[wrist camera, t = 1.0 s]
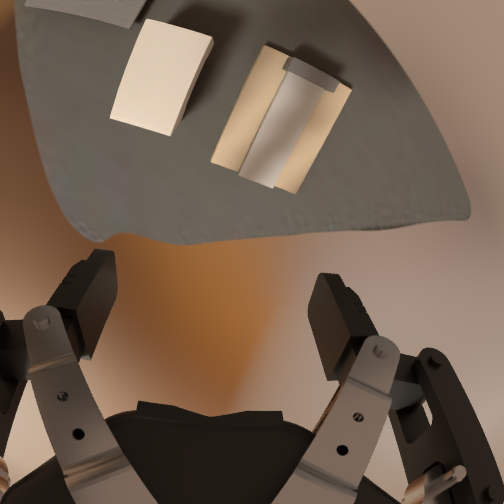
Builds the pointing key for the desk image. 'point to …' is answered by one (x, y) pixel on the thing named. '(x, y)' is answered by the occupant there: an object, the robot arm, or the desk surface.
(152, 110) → the white rectangular block
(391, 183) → the desk surface
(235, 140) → the rail board
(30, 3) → the electrical outlet
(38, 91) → the desk surface
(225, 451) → the robot arm
